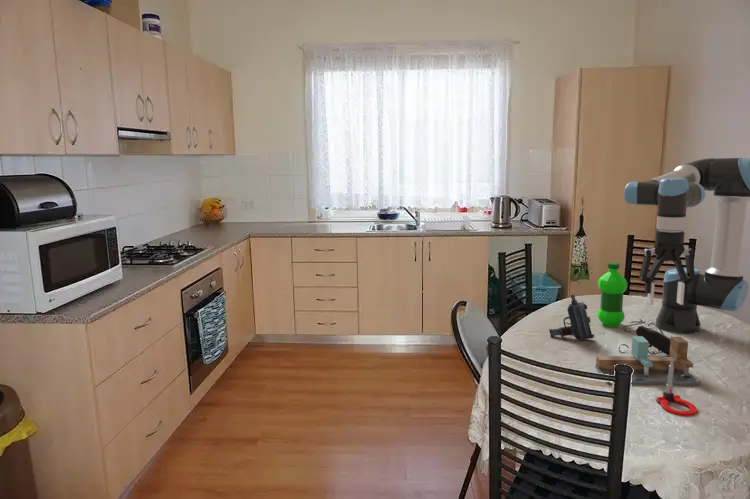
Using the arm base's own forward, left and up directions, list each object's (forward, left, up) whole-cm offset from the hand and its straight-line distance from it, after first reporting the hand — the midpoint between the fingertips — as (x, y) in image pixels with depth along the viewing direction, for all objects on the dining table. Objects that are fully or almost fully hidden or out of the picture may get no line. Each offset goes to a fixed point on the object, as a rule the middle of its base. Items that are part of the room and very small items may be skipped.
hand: (664, 303), depth 161 cm
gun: (+20, -29, -23) cm, 42 cm away
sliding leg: (+7, +3, -21) cm, 22 cm away
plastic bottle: (+1, -45, -22) cm, 50 cm away
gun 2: (-5, -14, -23) cm, 27 cm away
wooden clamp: (+6, +3, -21) cm, 22 cm away
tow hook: (+5, +24, -23) cm, 33 cm away
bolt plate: (+6, +4, -22) cm, 23 cm away
